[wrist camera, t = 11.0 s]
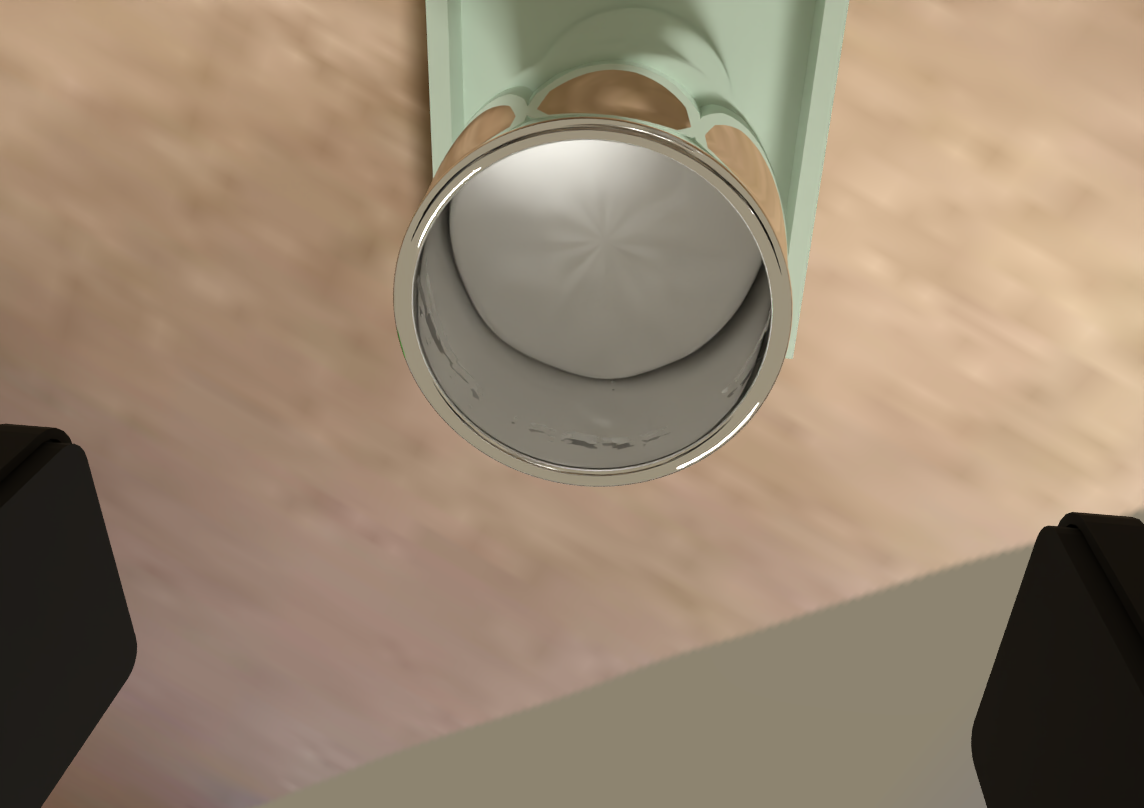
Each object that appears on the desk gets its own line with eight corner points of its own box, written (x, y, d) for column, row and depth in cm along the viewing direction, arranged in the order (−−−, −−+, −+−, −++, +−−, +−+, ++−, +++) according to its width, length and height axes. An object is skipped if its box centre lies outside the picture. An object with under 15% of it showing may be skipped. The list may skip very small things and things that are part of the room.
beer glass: (473, 149, 30) (312, 371, 17) (593, -64, 27) (509, 5, 13) (661, 267, 31) (648, 559, 18) (797, 78, 28) (901, 266, 15)
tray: (439, -138, 26) (419, -138, 24) (853, -124, 26) (868, -123, 24) (454, 306, 33) (439, 334, 31) (786, 328, 32) (792, 358, 30)
